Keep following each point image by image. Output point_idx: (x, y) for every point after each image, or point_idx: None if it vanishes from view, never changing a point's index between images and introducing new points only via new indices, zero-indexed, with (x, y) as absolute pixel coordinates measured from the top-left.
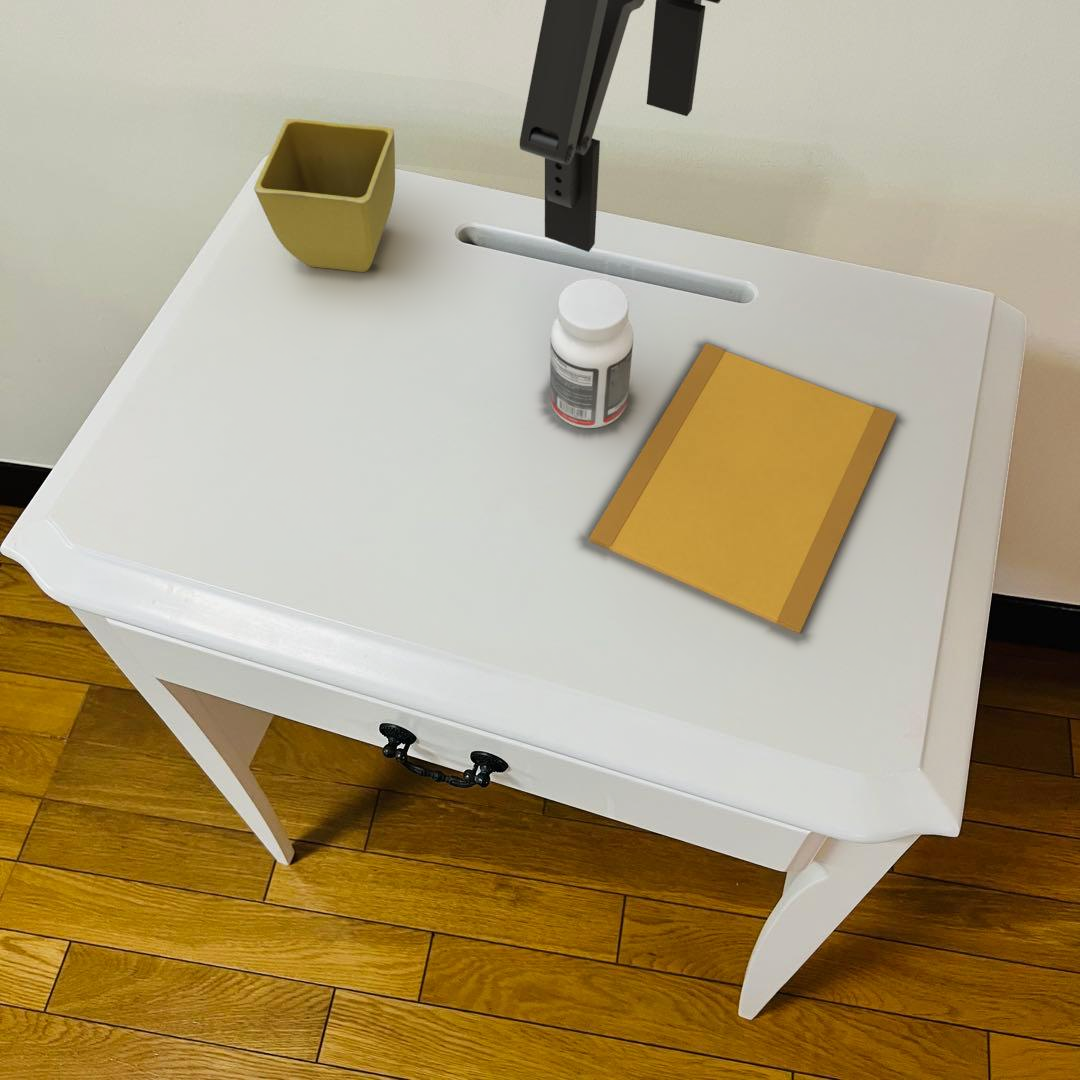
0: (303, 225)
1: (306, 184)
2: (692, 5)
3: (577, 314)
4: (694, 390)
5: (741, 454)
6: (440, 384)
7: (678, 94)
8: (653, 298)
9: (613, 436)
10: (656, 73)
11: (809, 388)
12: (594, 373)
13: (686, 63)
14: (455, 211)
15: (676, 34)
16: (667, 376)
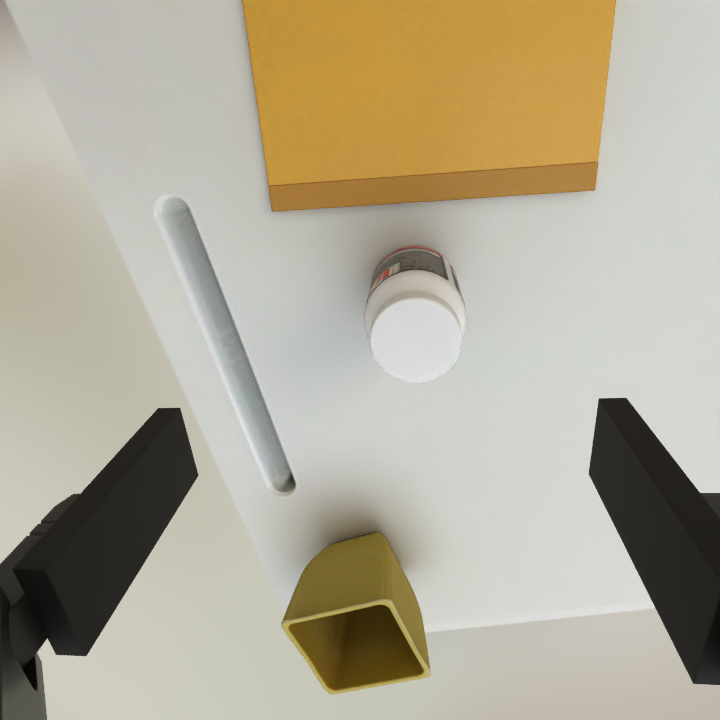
0: (413, 613)
1: (344, 624)
2: (35, 591)
3: (444, 349)
4: (344, 188)
5: (402, 87)
6: (467, 417)
7: (168, 448)
8: (244, 296)
9: (444, 238)
10: (166, 508)
11: (259, 59)
12: (458, 290)
13: (131, 486)
14: (265, 506)
15: (107, 554)
16: (335, 228)
